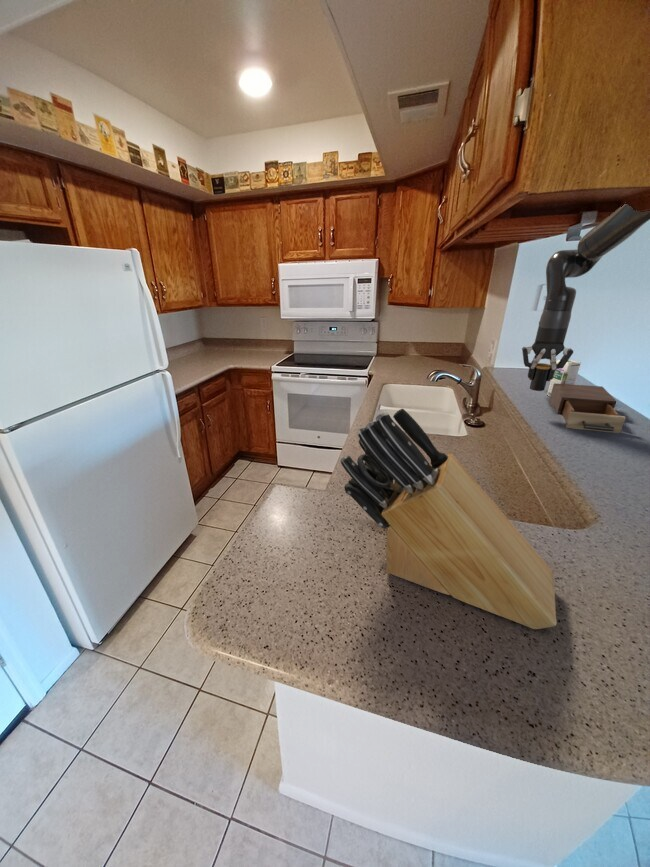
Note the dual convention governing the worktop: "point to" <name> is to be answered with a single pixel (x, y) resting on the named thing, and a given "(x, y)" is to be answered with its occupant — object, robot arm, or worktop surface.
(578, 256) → the robot arm
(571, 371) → the syrup box
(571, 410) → the drawer
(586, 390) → the cabinet
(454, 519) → the knife block
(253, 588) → the worktop surface
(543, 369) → the spice tin
